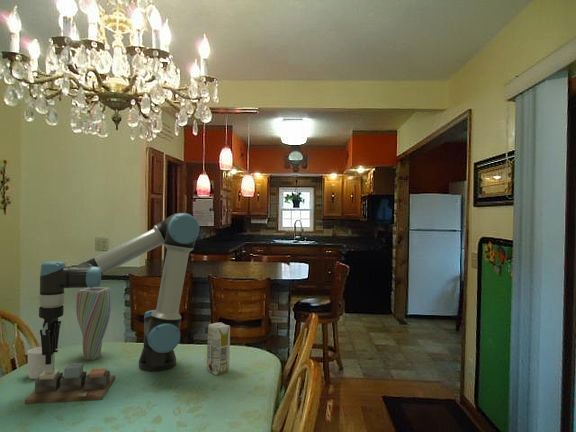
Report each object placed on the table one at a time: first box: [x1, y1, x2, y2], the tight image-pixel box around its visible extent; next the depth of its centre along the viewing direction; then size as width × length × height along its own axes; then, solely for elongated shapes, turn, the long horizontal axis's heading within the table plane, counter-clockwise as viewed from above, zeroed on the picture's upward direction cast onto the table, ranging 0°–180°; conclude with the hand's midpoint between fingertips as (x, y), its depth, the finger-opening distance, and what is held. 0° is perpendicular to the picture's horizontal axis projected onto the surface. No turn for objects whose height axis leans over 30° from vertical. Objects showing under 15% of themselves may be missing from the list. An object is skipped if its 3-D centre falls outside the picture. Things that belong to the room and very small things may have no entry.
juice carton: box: [206, 322, 231, 376], centre depth 165 cm, size 8×9×19 cm
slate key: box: [63, 362, 84, 379], centre depth 144 cm, size 5×5×5 cm
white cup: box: [27, 346, 45, 380], centre depth 155 cm, size 8×8×10 cm
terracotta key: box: [88, 367, 108, 378], centre depth 145 cm, size 5×5×5 cm
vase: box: [75, 286, 112, 361], centre depth 177 cm, size 14×14×30 cm
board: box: [24, 370, 116, 404], centre depth 144 cm, size 24×18×5 cm
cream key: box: [39, 369, 60, 380], centre depth 142 cm, size 5×5×5 cm
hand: (49, 372), depth 142 cm, fingers closed
